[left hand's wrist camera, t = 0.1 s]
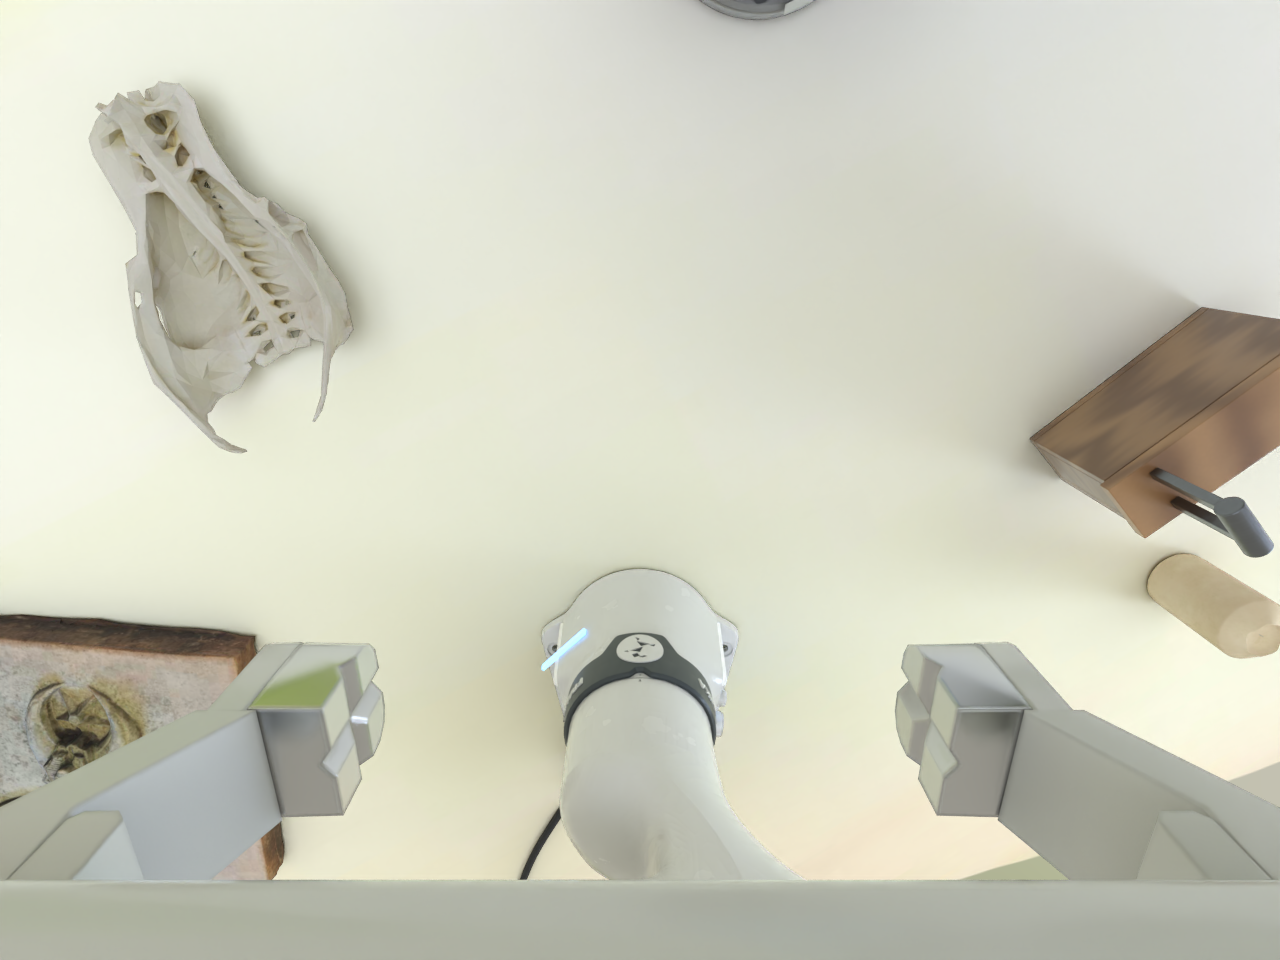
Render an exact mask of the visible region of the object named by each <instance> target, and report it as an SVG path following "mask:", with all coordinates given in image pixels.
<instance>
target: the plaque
mask: <svg viewBox="0 0 1280 960" xmlns="http://www.w3.org/2000/svg"><path fill="white" fill-rule="evenodd" d="M254 640H255V636H246V637H245V636H240V635H236V634H231V633H227V632H222V631H214V630H204V629H193V628H168V627H155V626H142V625H129V624H118V623H114V622H109V621H104V620H100V619H61V618H50V617H39V616H27V615H12V616H0V807H2V806H4V805H6V804H8V803H10V802H12V801H14V800H16V799H18V798H20V797H22V796H24V795H26V794H28V793H30V792H32V791H34V790H36V789H38V788H40V787H42V786H44V785H46V784H48V783H50V782H52V781H54V780H56V779H58V778H60V777H62V776H64V775H66V774H68V773H70V772H72V771H74V770H76V769H78V768H80V767H82V766H84V765H86V764H88V763H90V762H92V761H94V760H96V759H99V758H101V757H103V756H105V755H107V754H109V753H111V752H113V751H115V750H117V749H119V748H121V747H123V746H125V745H127V744H129V743H131V742H133V741H135V740H137V739H139V738H141V737H143V736H145V735H147V734H149V733H151V732H153V731H155V730H157V729H159V728H161V727H163V726H165V725H167V724H169V723H171V722H173V721H175V720H177V719H179V718H181V717H183V716H185V715H187V714H189V713H191V712H193V711H195V710H207V709H208V708H209V707H210V706H211V705H212V704H213V703H214V702H215V700H216V699H217V698H218V697H219V696H220V695H221V694H222V693H223V692H224V690H225V689H226V688H227V687H228V686H229V685H230V684H231V683H232V681H233V680H234V679H235V678H236V677H237V676H238V675H239V674H240V672H241V671H242V670H243V669H244V668H245V667H246V666H247V665H248V664H249V662H250V661H251V660H252V659H253V658H254V657H255V656H256V651H255V648H254ZM283 856H284V845H283V842H282V837H281V826H280V823H278V824H277V825H276V826H275V827H274V828H272V829H271V830H270V831H269V832H268V833H266V834H265V835H264V836H263V837H262V838H260V839H259V840H258V841H257V842H256V843H254V844H253V845H252V846H251V847H250V848H248V849H247V850H246V851H245V852H244V853H242V854H241V855H240V856H239V857H238V858H236V859H235V860H234V861H233V862H232V863H230V864H229V865H228V866H227V867H226V868H224V869H223V870H222V871H221V872H220V873H218V874H217V875H216V876H215V877H214V878H212V879H211V880H272V879H273V878H274V877H275V876H276V875H277V871H278V870H279V867H280V866H281V865H282V863H283Z"/></svg>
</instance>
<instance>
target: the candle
mask: <svg viewBox="0 0 1280 960" xmlns="http://www.w3.org/2000/svg"><path fill="white" fill-rule="evenodd" d="M1147 588H1148V592H1149V595H1150V596H1151V597H1152V599H1153V600H1154V601H1155V602H1157V603H1158V604H1159V605H1160V606H1162V607H1163V608H1164V609H1166V610H1167V611H1168V612H1170V613H1171V614H1172V615H1174V616H1175V617H1176V618H1178V619H1179V620H1180V621H1182V622H1183V623H1185V624H1186V625H1187V626H1189V627H1190V628H1191V629H1193V630H1194V631H1195V632H1197V633H1198V634H1199V635H1201V636H1202V637H1203V638H1205V639H1206V640H1207V641H1209V642H1210V643H1212V644H1213V645H1214V646H1216V647H1217V648H1218V649H1220V650H1221V651H1222V652H1224V653H1225V654H1227V655H1228V656H1231V657H1234V658H1240V659H1241V658H1253V657H1261V656H1266V655H1269V654H1272V653H1274V652H1276V651H1277V650H1278V648H1279V645H1280V605H1279V604H1277V603H1275V602H1274V601H1272V600H1270V599H1269V598H1267V597H1266V596H1264V595H1262V594H1261V593H1259V592H1257V591H1256V590H1254V589H1252V588H1251V587H1249V586H1247V585H1246V584H1244V583H1242V582H1241V581H1239V580H1237V579H1236V578H1234V577H1232V576H1231V575H1229V574H1227V573H1226V572H1224V571H1222V570H1221V569H1219V568H1217V567H1216V566H1214V565H1212V564H1211V563H1209V562H1207V561H1206V560H1204V559H1202V558H1200V557H1198V556H1195V555H1192V554H1178V555H1174V556H1171V557H1169V558H1167V559H1165V560H1163V561H1162V562H1161V563H1159V564H1158V565H1157V566H1156V567H1155V568H1154V570H1153V571H1152V573H1151V574H1150V576H1149V579H1148V584H1147Z"/></svg>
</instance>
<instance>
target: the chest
mask: <svg viewBox="0 0 1280 960" xmlns="http://www.w3.org/2000/svg"><path fill="white" fill-rule="evenodd" d="M1279 355H1280V319H1275V318H1269V317H1262V316H1256V315H1249V314H1243V313H1237V312H1230V311H1224V310H1217V309H1211V308H1210V309H1209V308H1205V307H1202V308H1200V309H1199V310H1198V311H1196V312H1195V313H1194V314H1192V315H1191V316H1190V317H1188V318H1187V319H1186V320H1185V321H1183V322H1182V323H1181V324H1179V325H1178V326H1177V327H1175V328H1174V329H1173V330H1171V331H1170V332H1169V333H1167V334H1166V335H1165V336H1164V337H1162V338H1161V339H1160V340H1158V341H1157V342H1156V343H1154V344H1153V345H1152V346H1150V347H1149V348H1148V349H1146V350H1145V351H1144V352H1143V353H1141V354H1140V355H1139V356H1137V357H1136V358H1135V359H1133V360H1132V361H1131V362H1129V363H1128V364H1127V365H1125V366H1124V367H1123V368H1122V369H1120V370H1119V371H1118V372H1116V373H1115V374H1114V375H1112V376H1111V377H1110V378H1108V379H1107V380H1106V381H1104V382H1103V383H1102V384H1101V385H1099V386H1098V387H1097V388H1095V389H1094V390H1093V391H1091V392H1090V393H1089V394H1087V395H1086V396H1085V397H1083V398H1082V399H1081V400H1080V401H1078V402H1077V403H1076V404H1074V405H1073V406H1072V407H1070V408H1069V409H1068V410H1066V411H1065V412H1064V413H1062V414H1061V415H1060V416H1059V417H1057V418H1056V419H1055V420H1053V421H1052V422H1051V423H1049V424H1048V425H1047V426H1045V427H1044V428H1043V429H1041V430H1040V431H1039V432H1038V433H1036V434H1035V435H1034V436H1032V437H1031V438H1030V440H1031V441H1032V443H1033V444H1034V445H1035V446H1036V448H1037V449H1038V450H1039V452H1040V453H1041V454H1042V455H1043V457H1044V458H1045V459H1046V460H1047V462H1048V463H1049V464H1050V466H1051V467H1052V468H1053V469H1054V471H1055V472H1056V473H1057V474H1058V476H1059V477H1060V478H1061V480H1063V481H1065V482H1066V483H1068V484H1069V485H1071V486H1073V487H1074V488H1076V489H1077V490H1079V491H1081V492H1082V493H1084V494H1086V495H1087V496H1089V497H1090V498H1092V499H1094V500H1095V501H1097V502H1098V503H1100V504H1102V505H1103V506H1105V507H1107V508H1108V509H1110V510H1111V511H1113V512H1115V513H1116V514H1118V515H1120V516H1121V517H1123V518H1124V516H1123V515H1122V514H1121V513H1120V511H1119V510H1118V509H1117V507H1116V506H1115V505H1114V503H1113V502H1112V501H1111V499H1110V498H1109V497H1108V496H1107V494H1106V493H1105V492H1104V490H1103V489H1102V488H1101V486H1100V484H1102V483H1103V482H1105V481H1106V480H1107V479H1109V478H1110V477H1111V476H1113V475H1114V474H1116V473H1117V472H1118V471H1120V470H1121V469H1123V468H1124V467H1125V466H1127V465H1128V464H1129V463H1131V462H1132V461H1134V460H1135V459H1136V458H1138V457H1139V456H1141V455H1142V454H1143V453H1145V452H1146V451H1148V450H1149V449H1150V448H1152V447H1153V446H1154V445H1156V444H1157V443H1159V442H1160V441H1161V440H1163V439H1164V438H1166V437H1167V436H1168V435H1170V434H1171V433H1172V432H1174V431H1175V430H1177V429H1178V428H1179V427H1181V426H1182V425H1184V424H1185V423H1186V422H1188V421H1189V420H1190V419H1192V418H1193V417H1195V416H1196V415H1197V414H1199V413H1200V412H1202V411H1203V410H1204V409H1206V408H1207V407H1208V406H1210V405H1211V404H1213V403H1214V402H1215V401H1217V400H1218V399H1220V398H1221V397H1222V396H1224V395H1225V394H1226V393H1228V392H1229V391H1231V390H1232V389H1233V388H1235V387H1236V386H1238V385H1239V384H1240V383H1242V382H1243V381H1244V380H1246V379H1247V378H1249V377H1250V376H1251V375H1253V374H1254V373H1256V372H1257V371H1258V370H1260V369H1261V368H1262V367H1264V366H1265V365H1267V364H1268V363H1269V362H1271V361H1272V360H1274V359H1275V358H1276V357H1278V356H1279ZM1124 519H1125V518H1124Z"/></svg>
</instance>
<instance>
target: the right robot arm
mask: <svg viewBox="0 0 1280 960" xmlns="http://www.w3.org/2000/svg"><path fill="white" fill-rule="evenodd" d="M700 1H702V2H703V3H704V4H706V5H708V6H709V7H711V8H713V9H715V10H717V11H719V12H721V13H724V14H727V15H730V16H733V17H738V18H743V19H753V20H756V19H770V18H776V17H780V16H784V15H787V14H790V13H792V12H795V11H797V10H799V9H801V8H803V7H805V6H807V5H809V4H810V3H812V2H813V1H815V0H700Z"/></svg>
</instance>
